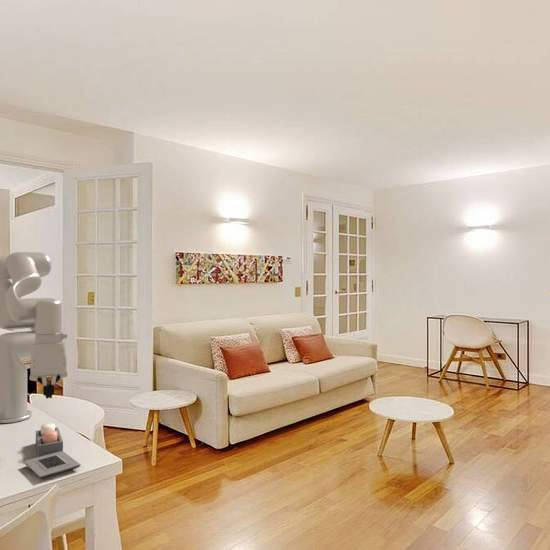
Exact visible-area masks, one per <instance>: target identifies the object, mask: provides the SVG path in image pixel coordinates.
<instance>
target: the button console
mask: <svg viewBox="0 0 550 550" xmlns="http://www.w3.org/2000/svg"><path fill="white" fill-rule="evenodd" d="M55 430H56V431H57V442H52V443H46V444H43V436H41V429H39V430H35V447H36V451H37V456H38V457H41V456H45V455H48V454H52V453H56V452H60V451H63V452H64V443H63V442H64V440H63V437H62V435H61V433H60V429H59V427H55Z"/></svg>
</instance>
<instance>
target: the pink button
mask: <svg viewBox="0 0 550 550" xmlns="http://www.w3.org/2000/svg"><path fill="white" fill-rule="evenodd" d="M52 442H57V431H56V430H50V431H46V432H44V433H43V444H46V443H52Z"/></svg>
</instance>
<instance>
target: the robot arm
mask: <svg viewBox="0 0 550 550" xmlns="http://www.w3.org/2000/svg"><path fill="white" fill-rule="evenodd" d="M51 270H52V261H51V258H50V257H49V255H48V254H46V253H44V252H36V251H35V252H34V251H33V252H31V251H30V252H29V251H15V252H13V253H10V254H9V255H8V256H0V329H2V330H23V329H30V330H27V331H12V332H6V333H3V334H0V424H12V423H17V422H22V421H25V420H27V419H29V418H31V417H32V415H33V411H32V410H28V368H27V366H26V365H25V364H24V363H23V361H21V358H28V357H30V362H29V363H30V365H29V368H30V369H29V371H30V372H29V373H30V374H29V380H30V381H32V382H38V383H40V384H41V385H42V387H43V388H42V389H43V392H42V394H43V397H44V396H45V399H48V400H49V399H52V398H53V395H55V385H56V383H57V382H58V381H59V380H61V379H63V378H67V377H68V368H67V367H68V364H67V351H66V344H65V341H63V340H65V339H68V334H67V333H66V334H65V333H63V303H62V301H61V300H59V299H55V298H52V297H40V298H39V297H34V298H22V297H25V296H27V295H31V294H32V293H35V292H36V291H38V290H39V289H40V287H41V285H42V283H43V282H42V278H44V277H45V276H48V275H49V274H50V272H51ZM47 376H48V377H50V381H49V383H48V381H47Z"/></svg>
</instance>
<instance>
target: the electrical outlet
mask: <svg viewBox="0 0 550 550" xmlns="http://www.w3.org/2000/svg"><path fill="white" fill-rule="evenodd" d="M23 463H24V464H25V465H26V466H27V467H28V468H29V469H30V470H31V471H32V472H33V473H34V474H35V475H36V476H37V477H38V478H39V479H42V480H43V479H45V478H46V479H47V478H48V477H52V476H55V475H58V474H63V473H65V472H68V471H72V470H75V469H78V468H80V467H81V463H79V462H78V461H77V460H76V459H74V458H73V457H71V456H70V455H69V454H68V453H66V452H65V451H64V450H63V451H60V452H56V453H52V454H48V455H45V456H41V457H33V458H30V459H27V460H23Z"/></svg>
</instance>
